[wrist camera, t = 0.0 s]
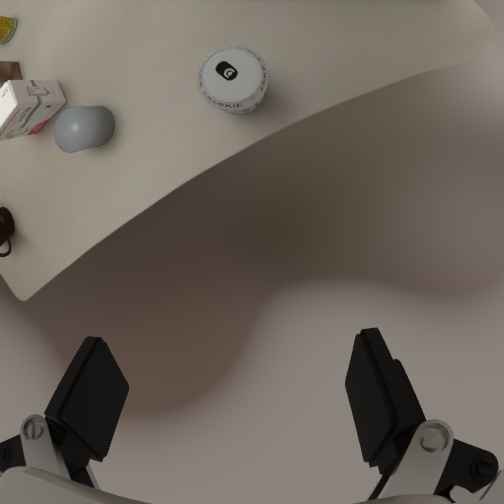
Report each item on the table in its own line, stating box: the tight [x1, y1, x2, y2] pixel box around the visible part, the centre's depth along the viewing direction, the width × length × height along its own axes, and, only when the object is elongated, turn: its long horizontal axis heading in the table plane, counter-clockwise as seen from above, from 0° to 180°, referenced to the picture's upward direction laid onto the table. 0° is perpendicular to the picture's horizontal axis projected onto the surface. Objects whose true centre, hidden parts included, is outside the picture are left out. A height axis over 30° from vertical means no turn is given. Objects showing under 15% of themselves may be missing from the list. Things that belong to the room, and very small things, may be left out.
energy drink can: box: [197, 46, 269, 114], centre depth 26 cm, size 6×6×15 cm
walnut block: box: [0, 61, 22, 89], centre depth 26 cm, size 6×6×6 cm
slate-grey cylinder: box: [54, 106, 114, 153], centre depth 31 cm, size 6×6×7 cm
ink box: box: [0, 80, 66, 141], centre depth 26 cm, size 9×5×12 cm, turn 116°
